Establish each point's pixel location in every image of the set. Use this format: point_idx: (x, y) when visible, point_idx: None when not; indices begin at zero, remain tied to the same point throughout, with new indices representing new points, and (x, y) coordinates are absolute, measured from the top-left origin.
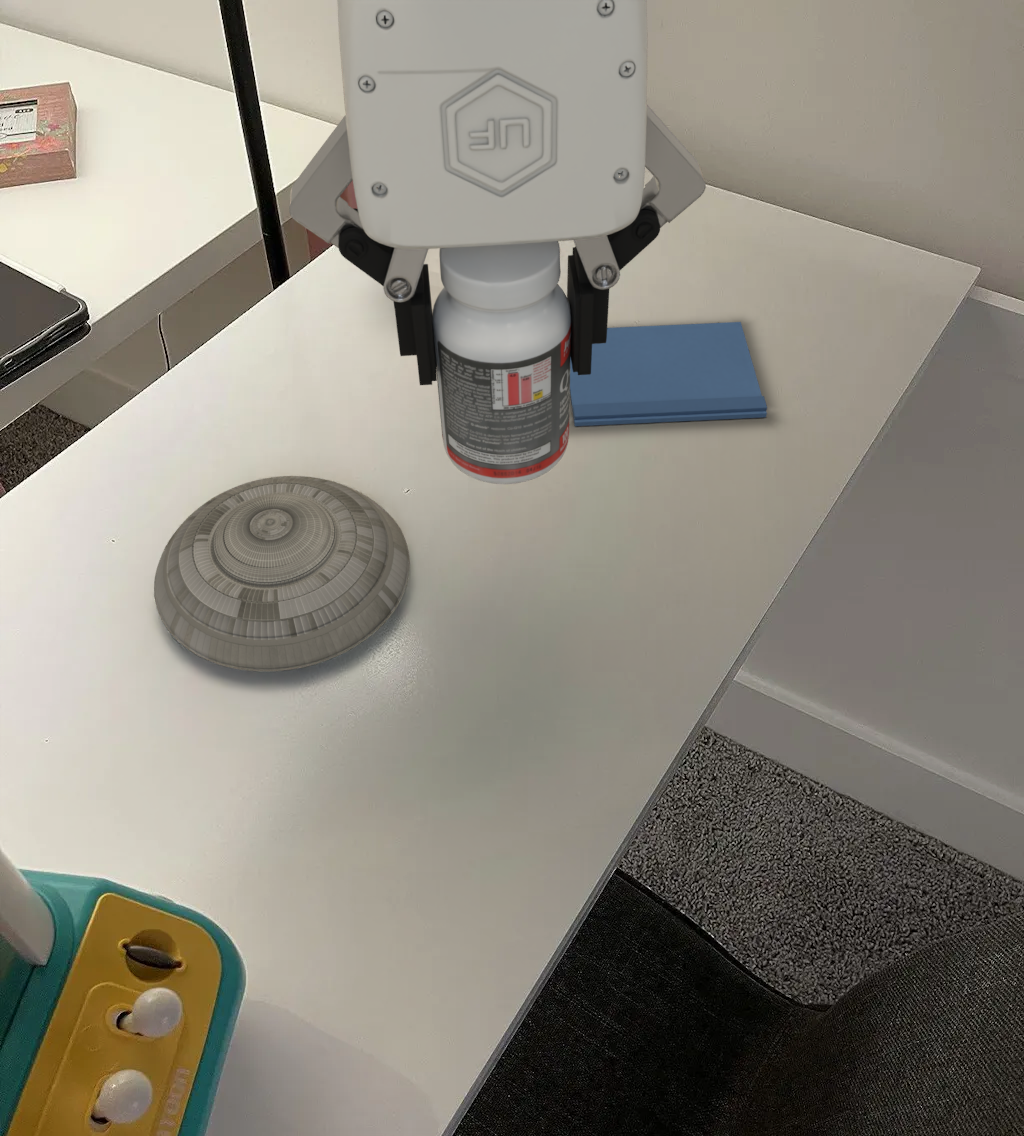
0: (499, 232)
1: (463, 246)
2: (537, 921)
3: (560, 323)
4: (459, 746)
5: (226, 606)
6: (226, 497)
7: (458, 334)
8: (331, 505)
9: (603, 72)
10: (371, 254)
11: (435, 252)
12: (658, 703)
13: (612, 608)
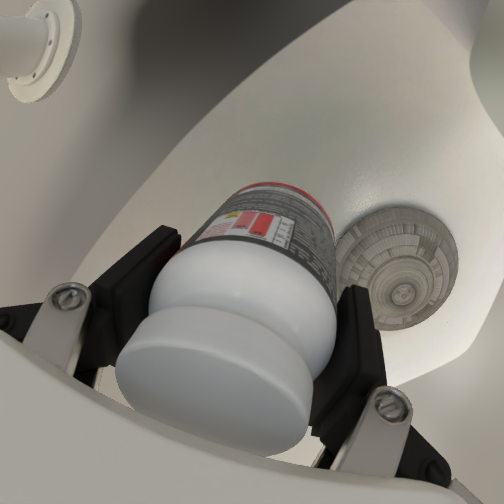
0: (169, 470)
1: (286, 465)
2: (338, 23)
3: (162, 277)
4: (347, 129)
5: (440, 255)
6: (408, 323)
7: (318, 315)
8: None
9: None
10: (414, 461)
11: None
12: (232, 118)
13: (233, 186)
